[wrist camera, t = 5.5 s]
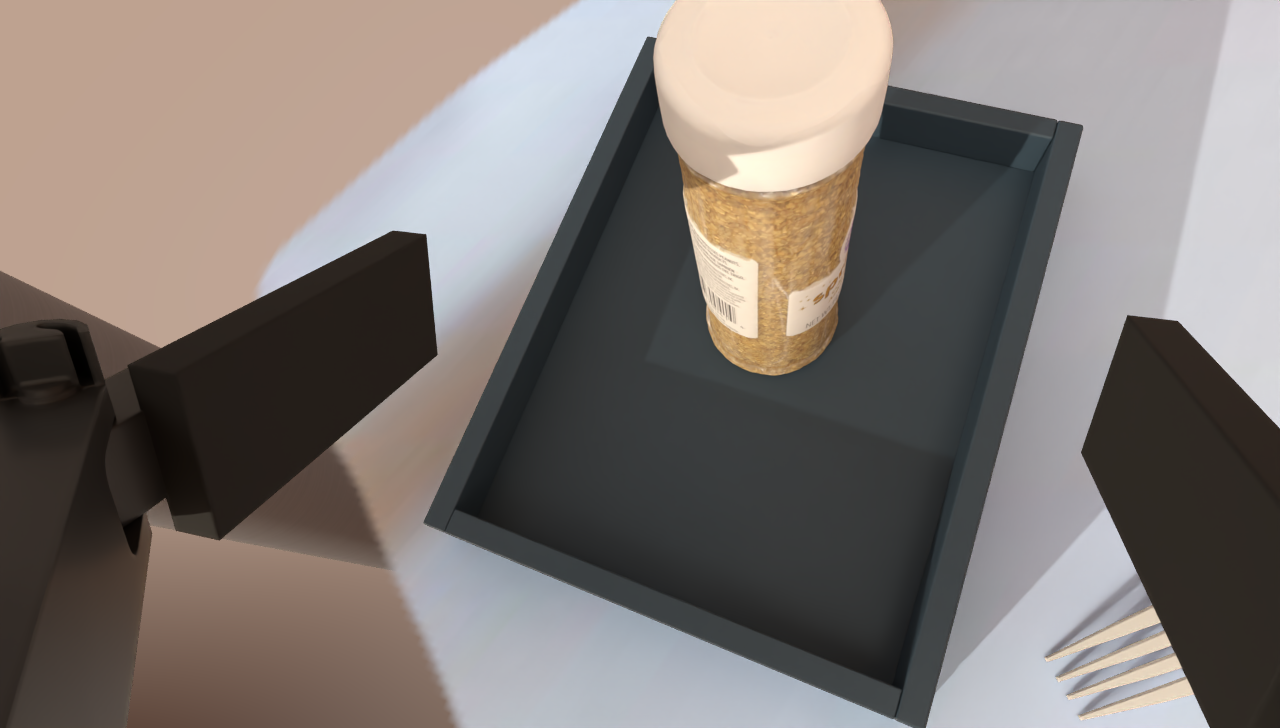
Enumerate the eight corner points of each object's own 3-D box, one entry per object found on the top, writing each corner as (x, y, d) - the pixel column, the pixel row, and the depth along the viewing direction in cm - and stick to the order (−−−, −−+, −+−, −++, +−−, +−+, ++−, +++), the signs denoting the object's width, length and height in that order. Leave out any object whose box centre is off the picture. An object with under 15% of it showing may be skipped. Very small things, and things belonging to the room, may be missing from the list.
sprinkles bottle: (851, 364, 26) (929, 103, 13) (718, 390, 26) (670, 162, 14) (819, 245, 27) (861, -85, 15) (694, 272, 28) (631, -27, 15)
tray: (452, 533, 27) (422, 523, 24) (656, 79, 32) (647, 35, 29) (909, 723, 22) (925, 732, 20) (1058, 167, 28) (1084, 124, 25)
